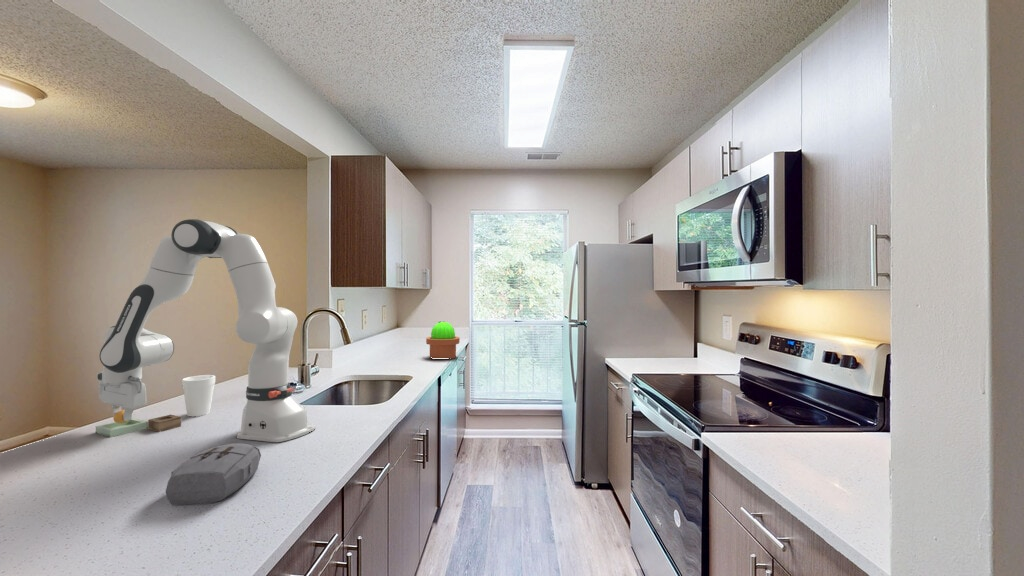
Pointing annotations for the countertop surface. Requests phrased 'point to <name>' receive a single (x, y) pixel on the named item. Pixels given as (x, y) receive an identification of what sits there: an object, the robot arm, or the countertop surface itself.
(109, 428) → the tray
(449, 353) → the potted cactus
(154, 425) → the brown wooden box
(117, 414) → the ball
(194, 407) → the foam cup
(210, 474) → the small grey backpack
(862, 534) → the countertop surface
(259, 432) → the robot arm
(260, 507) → the countertop surface
